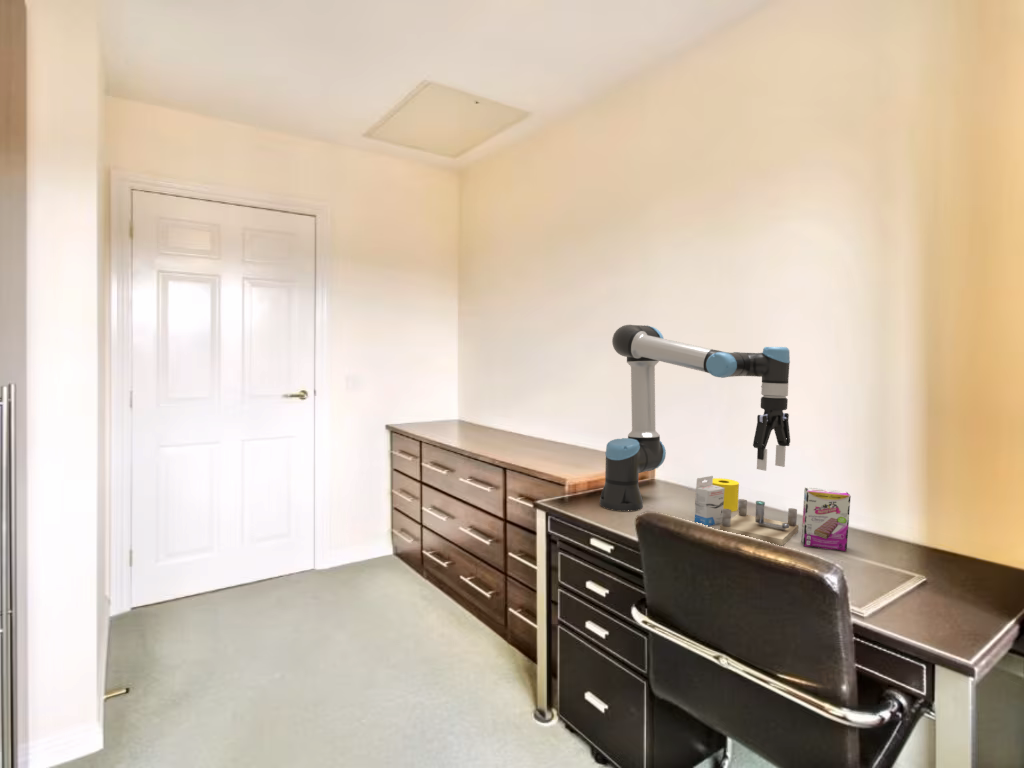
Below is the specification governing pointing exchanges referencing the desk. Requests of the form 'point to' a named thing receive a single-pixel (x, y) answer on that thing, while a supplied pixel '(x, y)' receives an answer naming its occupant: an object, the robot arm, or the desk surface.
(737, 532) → the peg board
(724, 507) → the yellow paper roll
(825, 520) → the candy bar box
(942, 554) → the desk surface
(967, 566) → the desk surface
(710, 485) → the ink box
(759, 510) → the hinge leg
